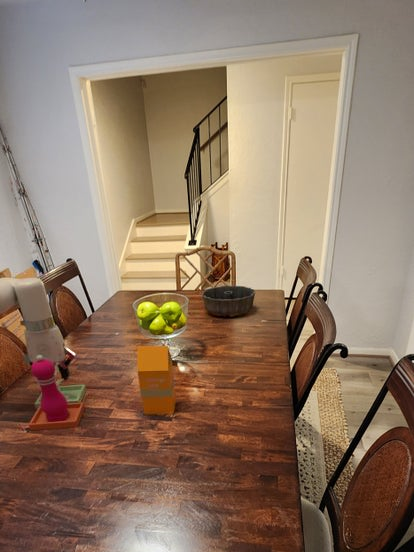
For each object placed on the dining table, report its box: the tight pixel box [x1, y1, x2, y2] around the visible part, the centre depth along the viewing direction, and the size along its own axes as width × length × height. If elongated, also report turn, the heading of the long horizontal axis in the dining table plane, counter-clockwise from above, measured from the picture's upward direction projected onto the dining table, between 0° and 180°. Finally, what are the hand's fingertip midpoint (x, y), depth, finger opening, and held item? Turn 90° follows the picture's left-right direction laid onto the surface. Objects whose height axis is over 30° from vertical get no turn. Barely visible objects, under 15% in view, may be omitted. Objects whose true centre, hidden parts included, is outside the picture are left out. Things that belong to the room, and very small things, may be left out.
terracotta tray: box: [28, 401, 86, 431], centre depth 109 cm, size 13×10×2 cm
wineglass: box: [52, 362, 69, 399], centre depth 116 cm, size 6×6×12 cm
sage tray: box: [34, 384, 87, 410], centre depth 119 cm, size 13×10×2 cm
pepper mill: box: [30, 355, 69, 422], centre depth 104 cm, size 7×7×20 cm
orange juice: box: [136, 345, 177, 415], centre depth 107 cm, size 8×9×20 cm
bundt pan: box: [201, 285, 256, 318], centre depth 183 cm, size 26×26×10 cm
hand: (56, 378), depth 115 cm, fingers closed on wineglass, 5 cm apart
